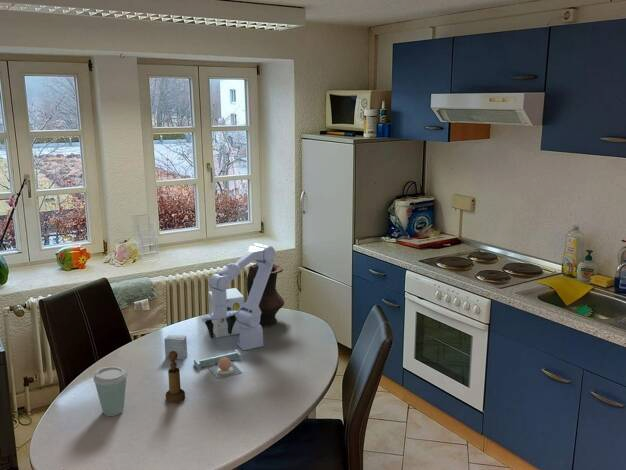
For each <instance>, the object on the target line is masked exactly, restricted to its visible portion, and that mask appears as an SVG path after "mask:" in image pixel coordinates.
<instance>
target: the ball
mask: <svg viewBox="0 0 626 470" xmlns="http://www.w3.org/2000/svg"><path fill="white" fill-rule="evenodd" d="M231 362H232V360H230V359H229V358H226V357H223V358H221V359H220V360H219V362H218V363H217V364H218V365H217V366H219V368H220V369H221V370H224V371H225V370H228V369H229V368H230V367H231Z"/></svg>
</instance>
